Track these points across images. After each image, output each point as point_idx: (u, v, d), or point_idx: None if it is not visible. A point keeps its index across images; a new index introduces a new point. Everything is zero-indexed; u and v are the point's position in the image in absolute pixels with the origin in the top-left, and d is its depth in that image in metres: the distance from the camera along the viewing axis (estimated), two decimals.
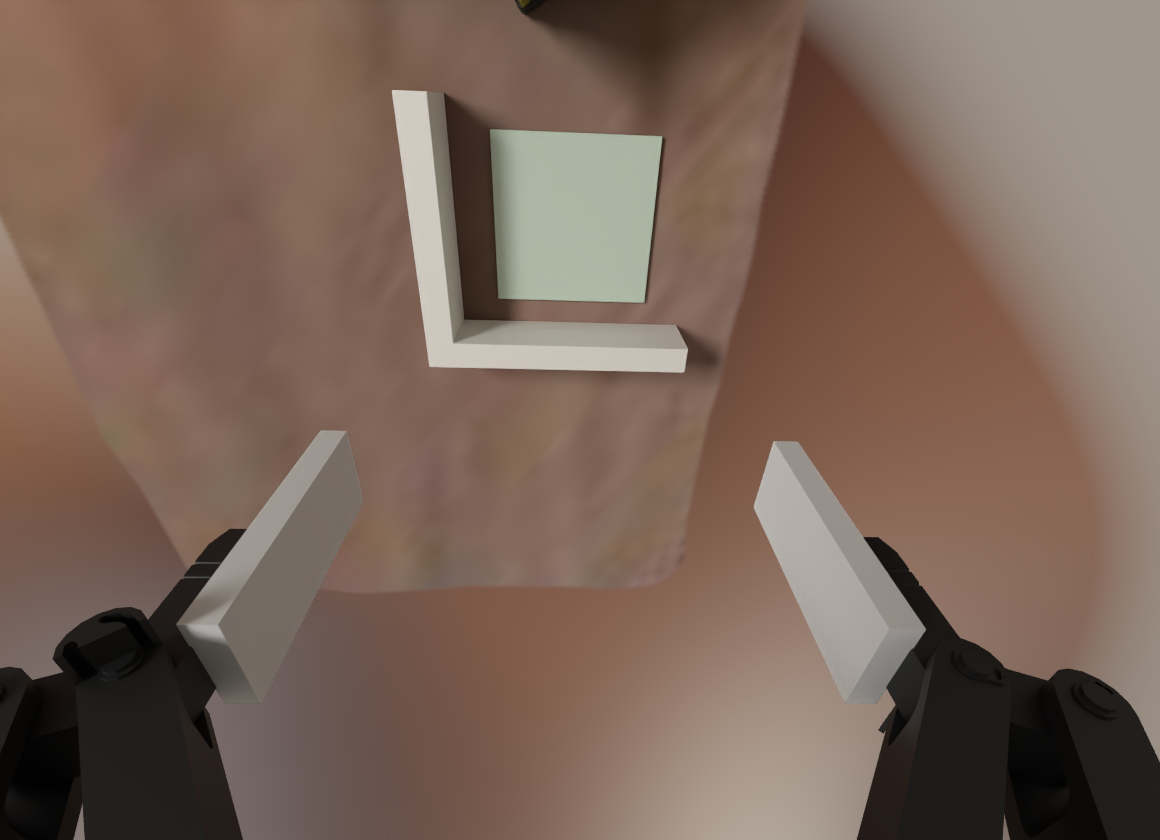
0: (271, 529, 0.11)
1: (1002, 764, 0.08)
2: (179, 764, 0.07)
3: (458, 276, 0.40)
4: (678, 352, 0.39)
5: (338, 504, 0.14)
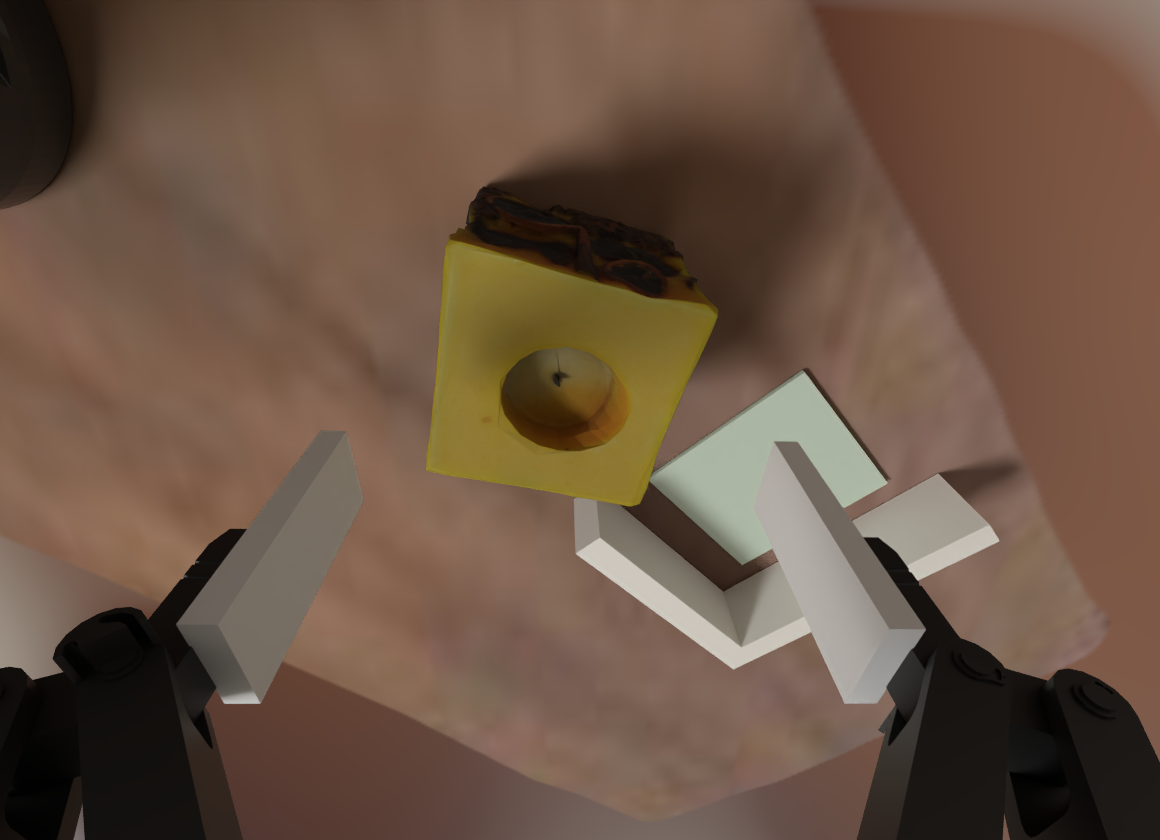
0: (271, 529, 0.11)
1: (1002, 764, 0.08)
2: (179, 764, 0.07)
3: (698, 576, 0.39)
4: (979, 532, 0.31)
5: (338, 504, 0.14)
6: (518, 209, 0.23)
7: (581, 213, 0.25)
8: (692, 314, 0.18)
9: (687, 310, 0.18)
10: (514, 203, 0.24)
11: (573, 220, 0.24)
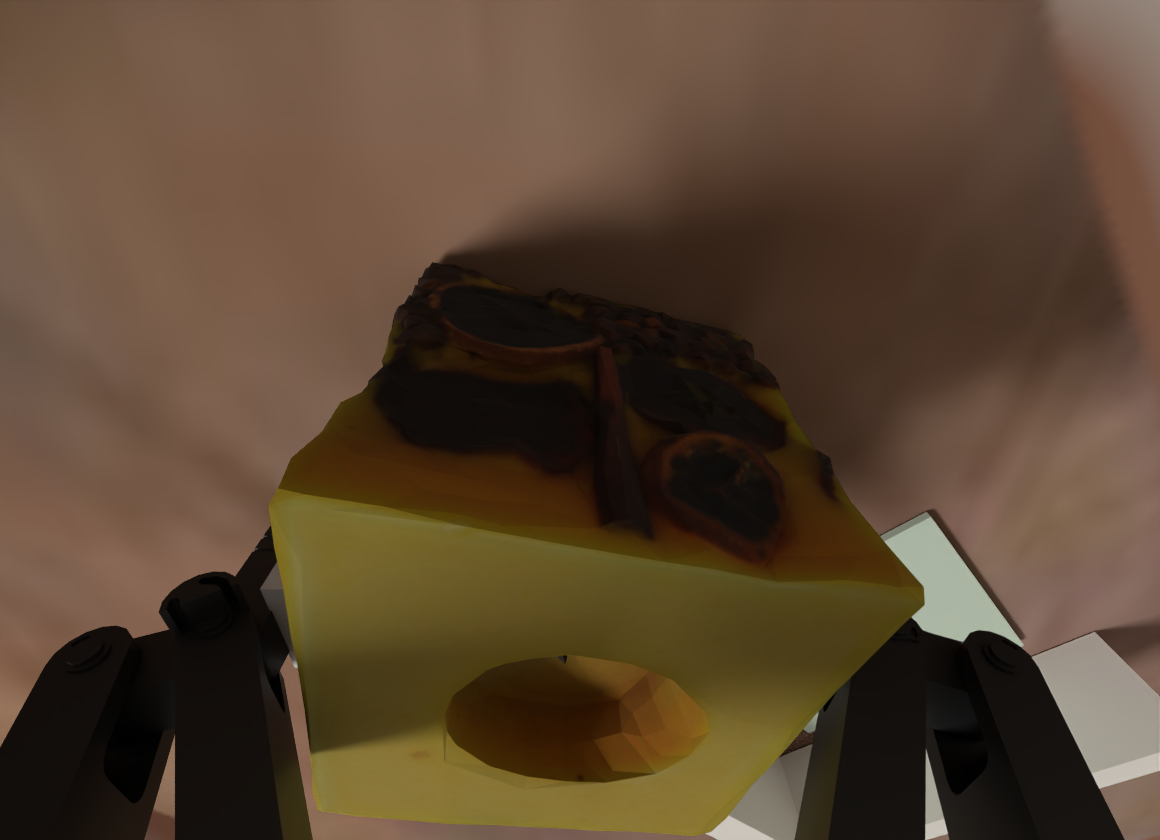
0: None
1: (922, 717, 0.09)
2: (258, 725, 0.08)
3: None
4: None
5: None
6: (489, 310, 0.13)
7: (598, 301, 0.15)
8: (867, 604, 0.08)
9: (858, 598, 0.08)
10: (485, 291, 0.14)
11: (586, 317, 0.14)
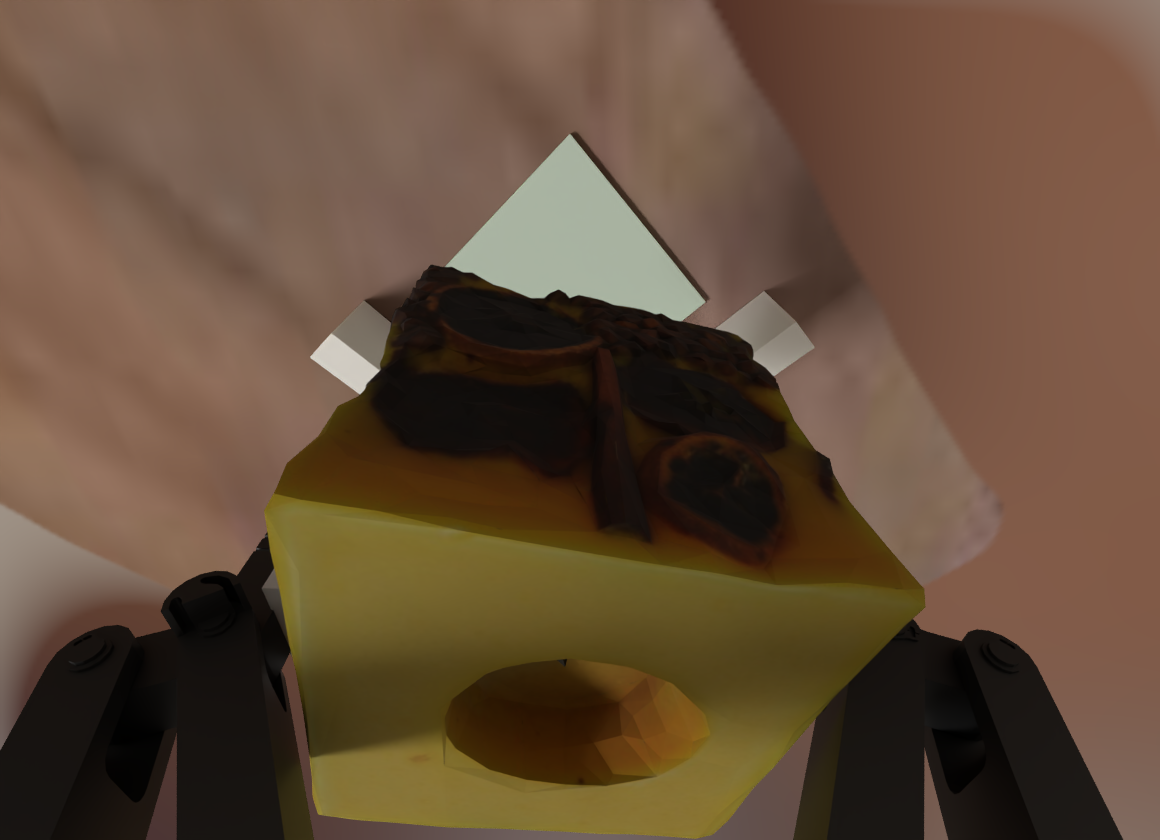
0: None
1: (920, 716, 0.09)
2: (259, 724, 0.08)
3: None
4: (787, 334, 0.27)
5: None
6: (487, 312, 0.13)
7: (597, 302, 0.15)
8: (867, 606, 0.08)
9: (858, 600, 0.08)
10: (483, 293, 0.14)
11: (585, 319, 0.14)
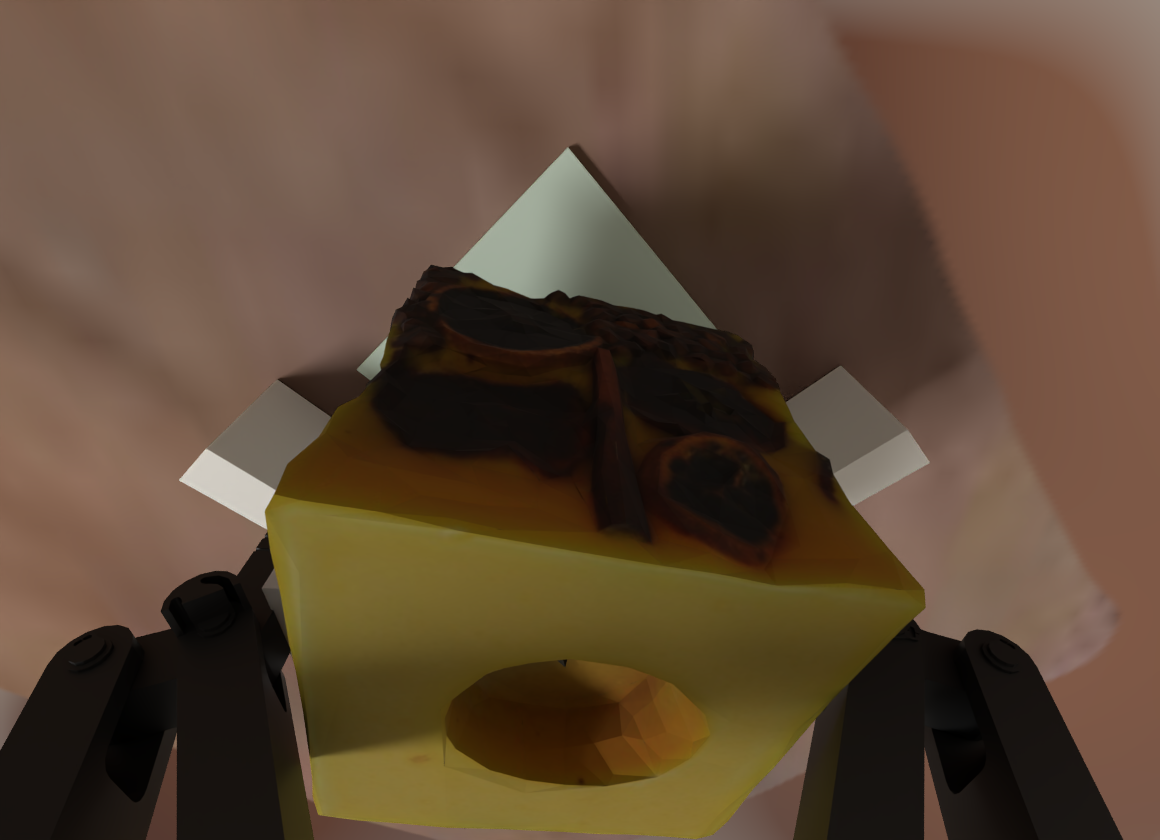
0: None
1: (920, 716, 0.09)
2: (260, 724, 0.08)
3: None
4: (892, 445, 0.18)
5: None
6: (487, 312, 0.13)
7: (597, 303, 0.15)
8: (867, 606, 0.08)
9: (858, 601, 0.08)
10: (483, 293, 0.14)
11: (585, 319, 0.14)
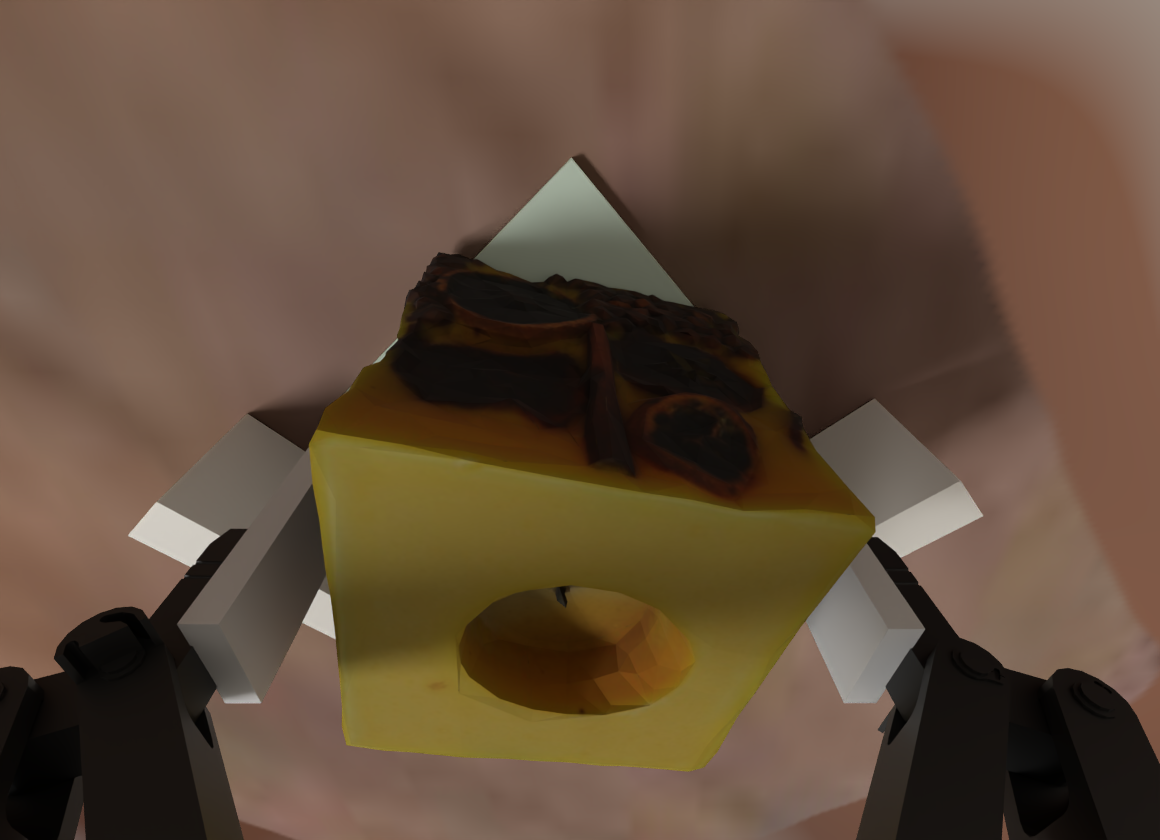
0: (272, 529, 0.11)
1: (1001, 764, 0.08)
2: (180, 763, 0.07)
3: None
4: (941, 498, 0.16)
5: None
6: (491, 293, 0.14)
7: (592, 285, 0.16)
8: (824, 531, 0.09)
9: (815, 526, 0.09)
10: (487, 277, 0.15)
11: (581, 299, 0.15)
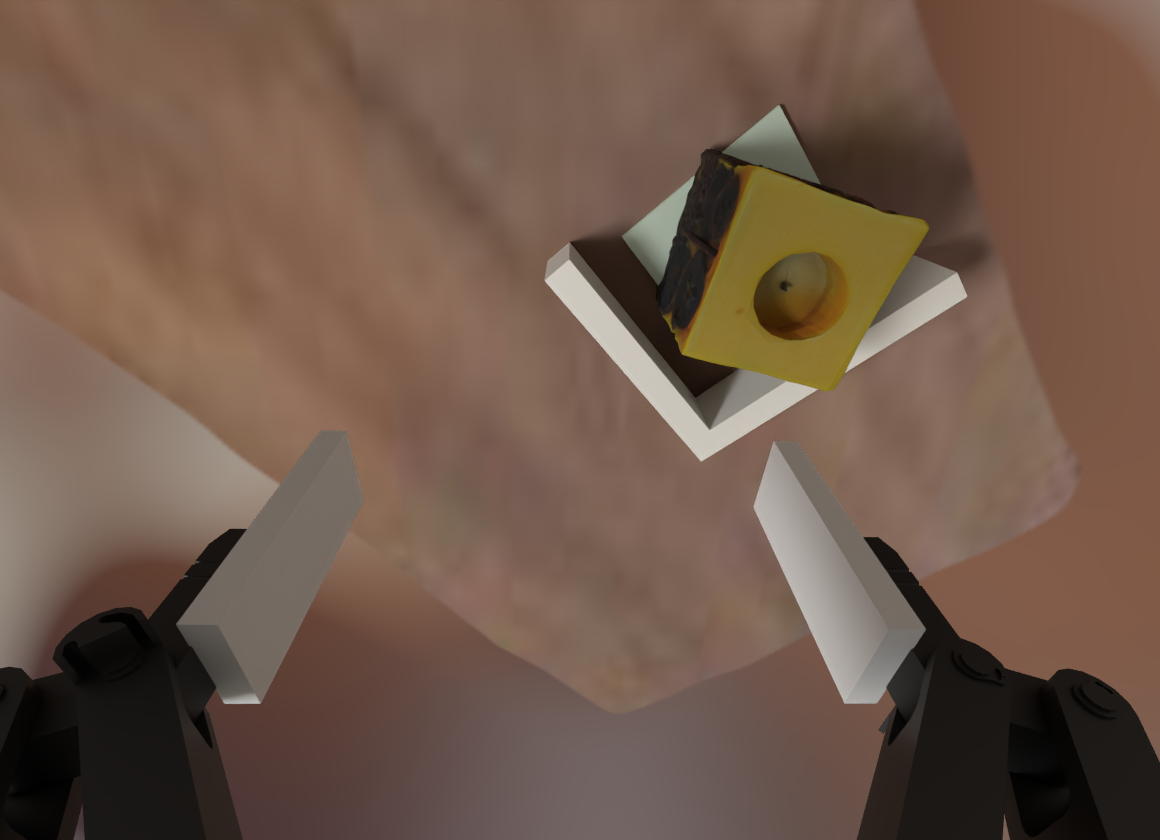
0: (271, 529, 0.11)
1: (1002, 764, 0.08)
2: (179, 764, 0.07)
3: (670, 368, 0.39)
4: (947, 283, 0.31)
5: (338, 504, 0.14)
6: None
7: (777, 171, 0.32)
8: (911, 227, 0.25)
9: (908, 223, 0.25)
10: None
11: None
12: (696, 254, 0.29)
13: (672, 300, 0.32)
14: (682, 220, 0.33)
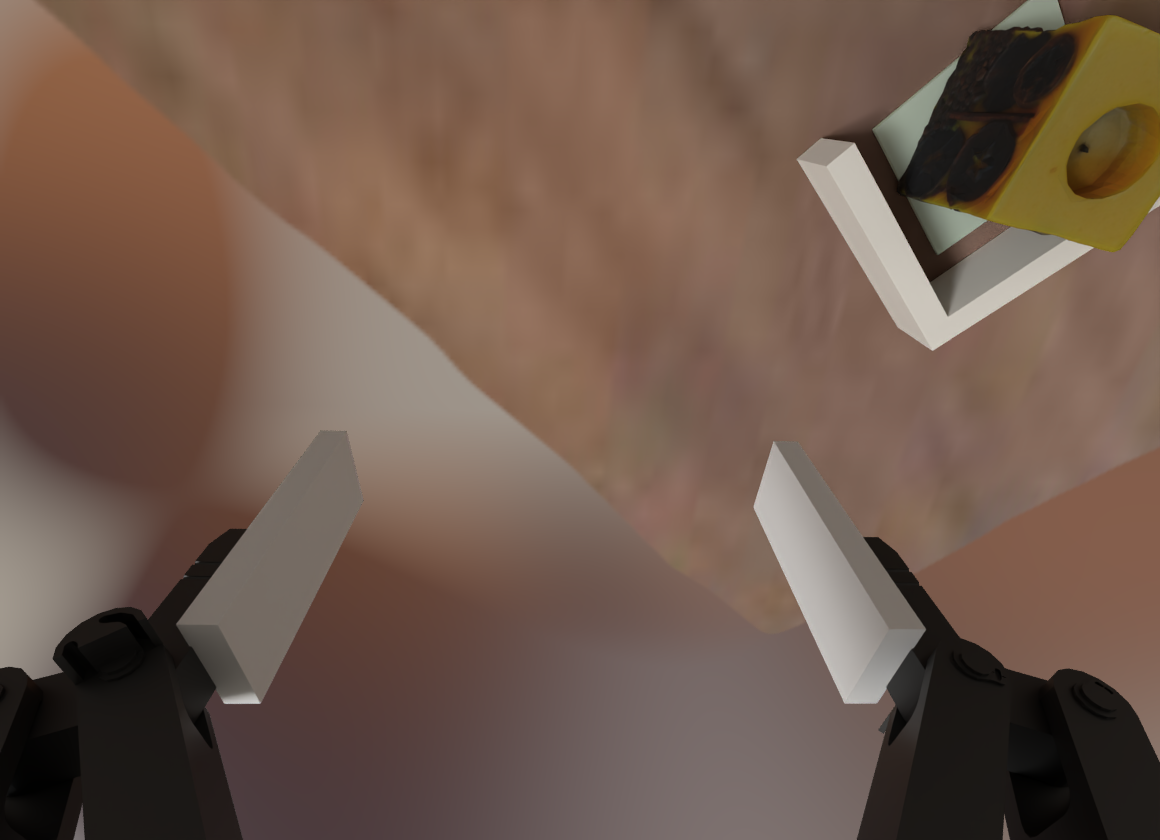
0: (271, 529, 0.11)
1: (1002, 764, 0.08)
2: (179, 764, 0.07)
3: None
4: None
5: (338, 504, 0.14)
6: None
7: None
8: None
9: None
10: None
11: None
12: (987, 126, 0.31)
13: (940, 181, 0.34)
14: (942, 106, 0.34)
